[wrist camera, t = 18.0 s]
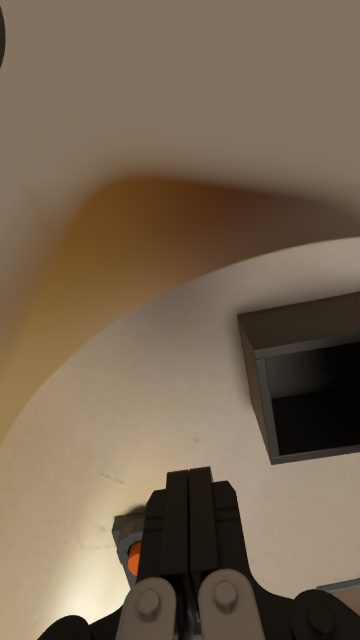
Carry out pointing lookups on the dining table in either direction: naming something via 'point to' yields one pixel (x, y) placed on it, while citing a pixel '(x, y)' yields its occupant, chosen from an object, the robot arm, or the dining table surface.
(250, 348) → the hinged lid box
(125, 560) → the control pad
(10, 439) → the dining table surface
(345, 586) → the book
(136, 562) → the button
